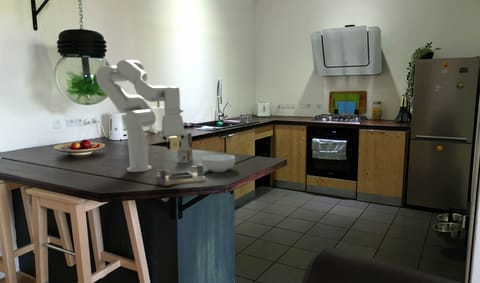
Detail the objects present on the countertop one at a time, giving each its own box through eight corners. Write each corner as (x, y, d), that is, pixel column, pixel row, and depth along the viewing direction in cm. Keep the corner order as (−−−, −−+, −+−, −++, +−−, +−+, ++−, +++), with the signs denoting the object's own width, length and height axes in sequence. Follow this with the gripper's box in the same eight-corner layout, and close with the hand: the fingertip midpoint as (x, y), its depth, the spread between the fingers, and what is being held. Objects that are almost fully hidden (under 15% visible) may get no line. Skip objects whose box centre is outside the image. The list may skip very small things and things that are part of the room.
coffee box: (182, 159, 217) (181, 132, 215) (193, 159, 216) (191, 132, 213) (177, 162, 208) (175, 134, 206) (187, 162, 207) (186, 134, 205)
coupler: (170, 151, 175) (170, 139, 174) (167, 148, 183) (167, 136, 182) (179, 150, 177) (179, 138, 176) (176, 147, 184) (176, 136, 183)
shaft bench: (154, 179, 172) (153, 166, 171) (199, 174, 180) (198, 162, 179) (158, 186, 161) (157, 172, 160) (205, 180, 169) (205, 167, 168)
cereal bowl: (238, 167, 193) (238, 154, 192) (231, 175, 177) (230, 160, 176) (208, 166, 197) (207, 153, 196) (198, 173, 181) (197, 160, 180)
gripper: (187, 110, 183) (188, 146, 186) (153, 112, 177) (155, 148, 180) (191, 112, 176) (192, 149, 179) (155, 113, 170) (157, 151, 173)
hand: (173, 148), depth 180 cm, fingers closed on coupler, 4 cm apart
